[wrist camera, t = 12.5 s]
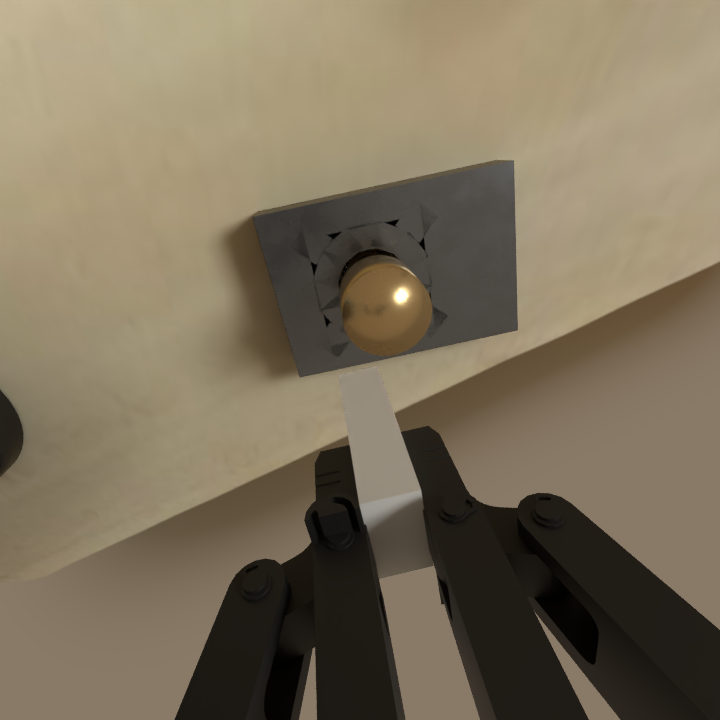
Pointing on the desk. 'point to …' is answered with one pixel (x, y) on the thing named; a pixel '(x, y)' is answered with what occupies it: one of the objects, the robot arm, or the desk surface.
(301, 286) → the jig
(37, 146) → the desk surface
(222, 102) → the desk surface
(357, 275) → the knob
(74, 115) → the desk surface
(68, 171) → the desk surface
